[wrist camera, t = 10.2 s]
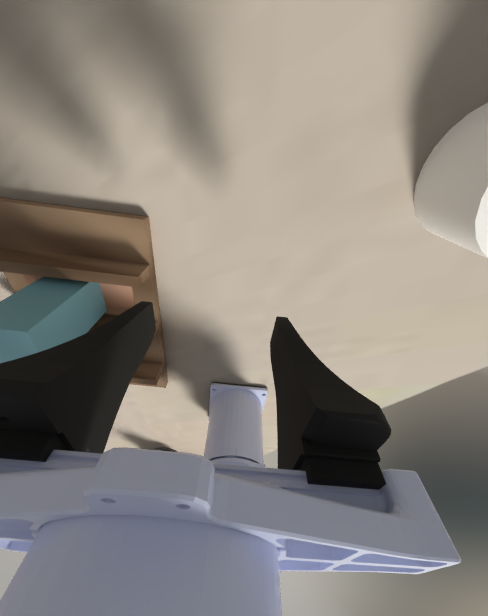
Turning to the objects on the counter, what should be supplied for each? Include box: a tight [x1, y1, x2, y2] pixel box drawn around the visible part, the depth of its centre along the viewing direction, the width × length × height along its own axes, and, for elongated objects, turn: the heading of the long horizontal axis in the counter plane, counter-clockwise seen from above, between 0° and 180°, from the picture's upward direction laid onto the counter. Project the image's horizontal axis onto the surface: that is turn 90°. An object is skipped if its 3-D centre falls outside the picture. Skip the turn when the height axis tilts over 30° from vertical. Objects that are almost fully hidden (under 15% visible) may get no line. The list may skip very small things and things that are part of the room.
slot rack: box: [0, 198, 168, 388], centre depth 24 cm, size 22×14×4 cm, turn 173°
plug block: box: [0, 276, 107, 363], centre depth 19 cm, size 4×4×8 cm
